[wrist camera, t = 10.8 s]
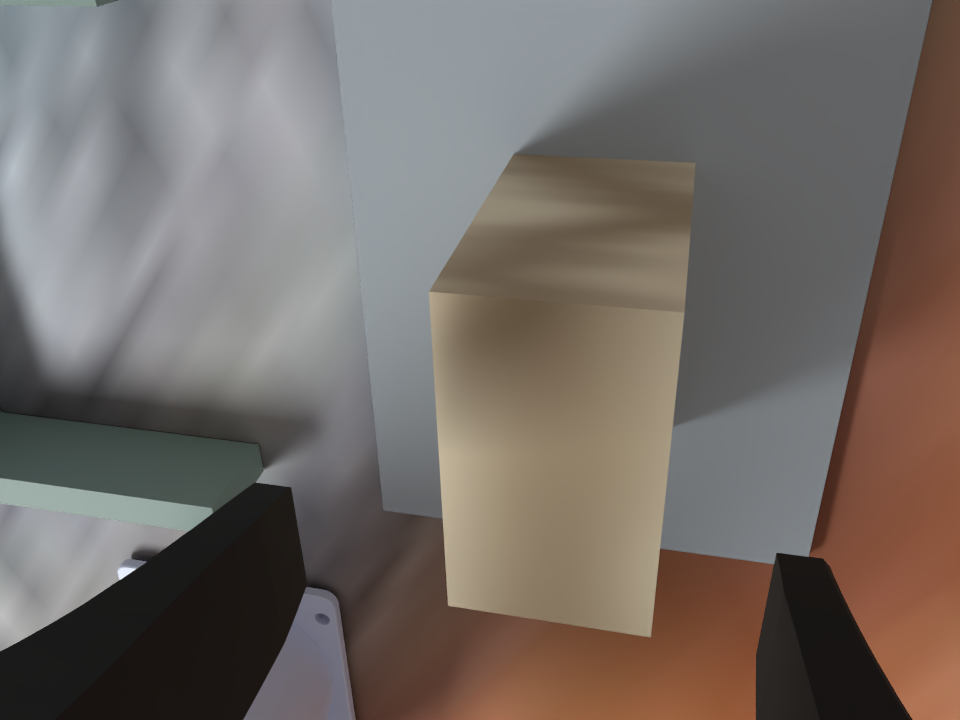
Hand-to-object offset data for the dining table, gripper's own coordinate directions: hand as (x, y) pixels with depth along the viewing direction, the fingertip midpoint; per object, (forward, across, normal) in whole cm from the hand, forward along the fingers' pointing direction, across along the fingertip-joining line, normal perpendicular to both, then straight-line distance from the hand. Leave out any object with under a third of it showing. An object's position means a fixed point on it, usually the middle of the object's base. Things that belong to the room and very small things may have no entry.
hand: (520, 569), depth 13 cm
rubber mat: (+10, 0, 0) cm, 10 cm away
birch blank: (+10, 0, 0) cm, 10 cm away
